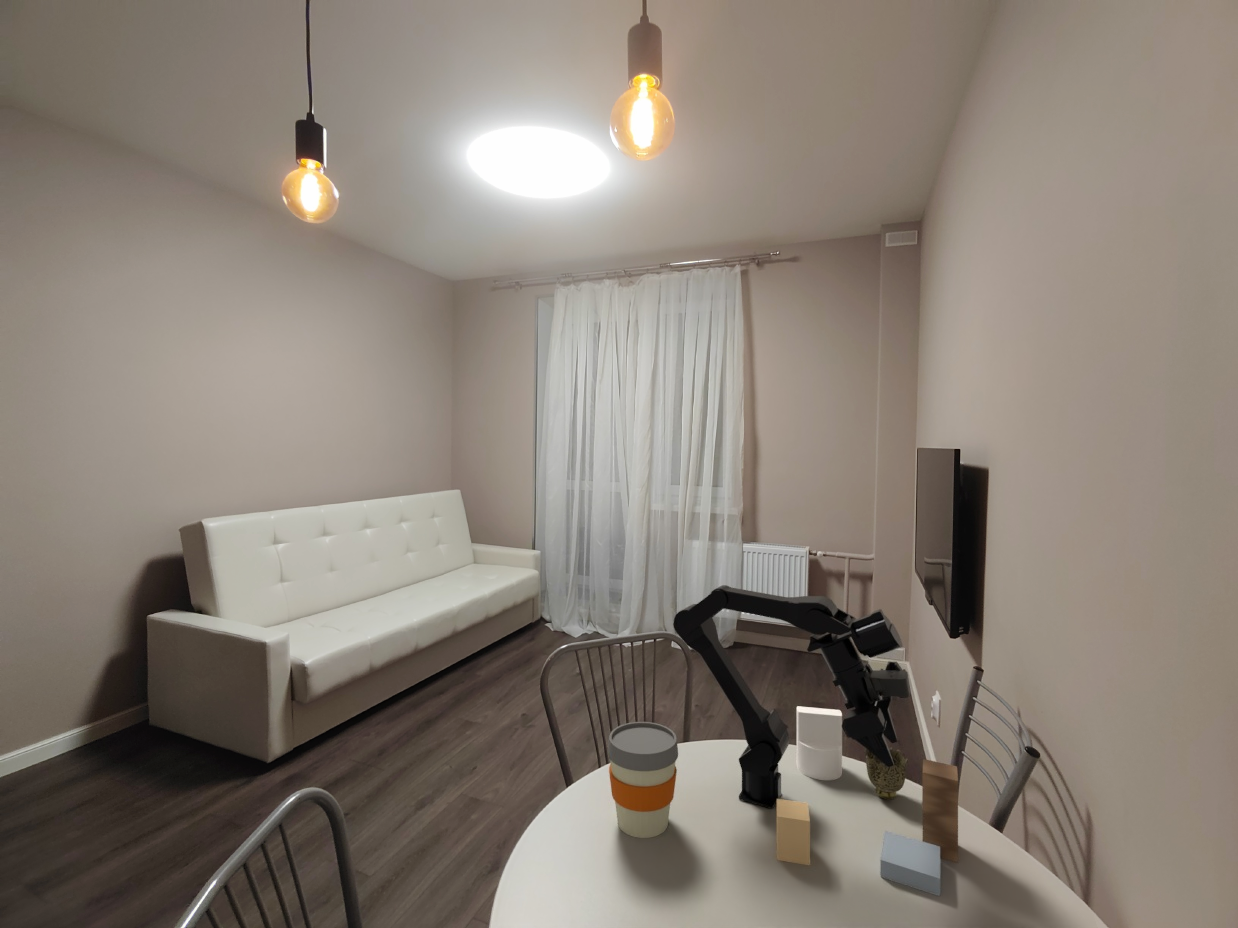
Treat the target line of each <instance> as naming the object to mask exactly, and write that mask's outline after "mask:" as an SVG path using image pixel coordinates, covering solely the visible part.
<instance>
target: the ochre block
mask: <svg viewBox="0 0 1238 928" xmlns="http://www.w3.org/2000/svg"><path fill="white" fill-rule="evenodd" d="M809 811H810V810H809V803H808V802H803V801H795V800H789V799H784V798H783V799H781V798H779V799H777V801H776V860H777V861H782V862H786V863H787V862H788V863H794V864H800V865H805V866H811V818H810V812H809Z"/></svg>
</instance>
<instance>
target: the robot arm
mask: <svg viewBox="0 0 1238 928" xmlns="http://www.w3.org/2000/svg"><path fill="white" fill-rule="evenodd" d="M723 609H725V610H730V611H734V612H739V613H745V614H749V615H754V616H755V615H756V616H760V617H765V618H770V619H775V620H781V621H783V622H786V623H788V624H790V626H791V625H792V626H793V627H794V628H797V629H799V630H802V631H805V632H806V633H810V634H811V635H810V636H809V643H808V646H807V648H806V651H807V652H808V653H811V652H814V651H817V650H820V652H821V655H822V656H823V658H824V661H825V662H826V664H827V666H828V668H829V671H831V672H830V673H832V676H833V679H832V683H833V685H834V686H835V687H838V688H839V689H840V691H841V693H842V695H843V697H844V699H845V701H844V706H845V709H847V711H846V713H845V716H844V718H843V719H842V731H843V732H844V734H845V736H846V738H847V739H849V738H851V740H852V741H854V740H855V742H857V743H858V744H859V745H861V746H862V747H863V748H865V750H866V749H867V750H869V751H870V752H871V753H872V754H873V755H874V756H876V757H877V758H878V759H879V760H880V761H881V762H883V763H884V764H885V765H886V766H887V767H891V766H894V762H893V759H892V756H891V753H890V747H889V746H888V743H887V740H888V741H889V742H890V743H891V744H895V743H898V737H897V734H896V729H895V726H894V723H893V720H892V715H891V712H890V709H889V707H890V703H891V701H892V697H897V698H900V699H907V698H908V699H909V697H910V696H911V685H910V684H911V683H910V679H909V673H908V671H907V670H906V668H905V669H904V668H903V667H901V665H900V664H899V663H898V661H887V664H886V666H885V668H880V669H878V670H876V669H875V670H873V668H872V667H871V665H870V664H869V663H867V662H864V661H863V659H862V657H861V656H860V654H861V655H863V656H864V657H866V656H867V657H868V658H870V659H871V658H875V657H878V656H880V655H883V654H887V653H889V652H893V651H895V650H898V649H900V648H903V642H902V639H901V636H900V634H899V632H898V630H897V628H896V626H895V624H894V623H893V622H891V620H890V619H889V618H888V616H886V615H885V613H884V611H883V610H882V609H881V608H879V609H877V610H874V611H872V612H871V613H869V614H866V615H864V616H861V617H859V618H856V617H855V616H853V615H851V614H849V613H848V612H846V611H844V610H842V609H841V608H839V607H837V605H836V604H835V602H833V600H832V599H831V598H829V597H827V596H824V595H802V596H794V597H793V596H792V597H791V596H781V595H778V594H777V595H776V594H770V593H764V592H758V591H753V590H747V589H743V588H736V587H731V586H729V585H726V584H725V585H720V586H718V587H716V588H713V590H712V591H711V592H710V593H709V594H708V595H707V596H705V597H704V598H703V599H702V600H700V601H699V602H697V603H692V604H690V605H688V606H687V607H685V608H683V609H681V610H679V611H678V612H677V613H676V614H675V616H674V618H673V624H672V626H673V629H674V631H675V633H676V634H677V636H678V637H679V638H680V639H681V641H682V642H684V644H685V645H686V646H688V647H689V648H690V649H691V650H693V651H694V652H696V653H697V654H699V656H700V657H701V659H702V660H703V662H704V663H705V665H706V667H707V669H708V670H709V671H710V674H712V676H713V677H714V679H715V681H716V683H717V684H718V686H719V687H720V688H721V690H722V692H723V693H724V695H725V697H726V699H727V700H728V701H729V703H730V705H731V706H732V708H733V709H734V711H735V713H736V714H737V716H738V717H739V719H740V721H741V725H742V728H743V733H744V734H743V735H744V737H745V741H746V743H747V746H746V748H745V749H744V750H743V752H742V754H741V755H740V756H739V758H738V763H739V766H740V769H741V792H740V793H739V795H738V799H739V800H741V801H745V802H749V803H752V804H753V805H754V804H755V805H757V806H761V807H765V808H768V809H773V808H774V807H775V805H776V804H777V799H781V795H782V773H781V772H779V763H780V761H781V759H782V758H783V756H784V754H785V752H786V750H787V748H788V747H789V744H790V735H789V732H788V729H789V726H788V725H787V724H786V723H785V722H783V720H782V718H781V716H780V714H779V712H778V710H777V709H776V708H775V709H772V711H769V710H767V709H765V708H764V707H763V706H762V705H761V704H760V702H759V700H758V699H757V698H756V696H755V695H754V693H753V692H752V690H751V688H750V687H749V685H748V684H747V682H746V680H745V679H744V678H743V676H742V675H741V673H740V671H739V670H738V668H737V667H736V665H735V663H734V662H733V660H732V659H731V658H730V656H729V653H727V651H726V650H725V648H724V647H723V645H722V643H721V642H720V639H719V635H718V631H717V625H716V624H715V623H716V622H715V621H714V619H713V617H715V616H716V615H718V614H719V613H720V612H721V611H722V610H723ZM850 709H851V710H850ZM886 739H887V740H886Z"/></svg>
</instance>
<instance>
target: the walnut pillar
mask: <svg viewBox="0 0 1238 928" xmlns="http://www.w3.org/2000/svg"><path fill="white" fill-rule="evenodd" d="M958 776H959V775H958V766H957V765H953V764H948V763H944V762H939V761H934V760H929V759H925V758H923V759H922V783H921V784H922V787H921V788H922V801H921V802H922V803H921V804H922V841H923V842H926V843H929V844H933V845H936V846H940V859H944V860H948V861H951V862H954V863H959V777H958Z"/></svg>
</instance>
